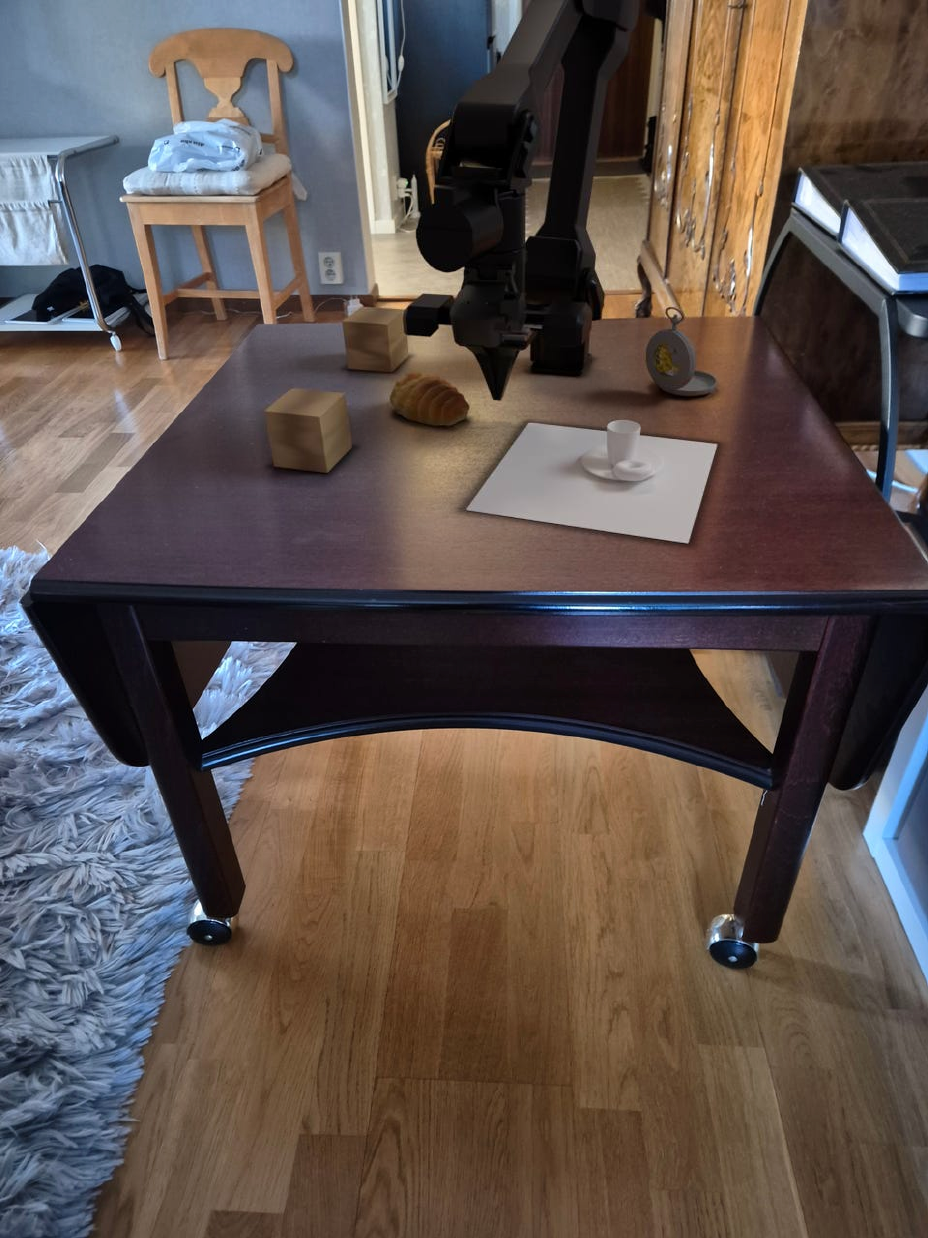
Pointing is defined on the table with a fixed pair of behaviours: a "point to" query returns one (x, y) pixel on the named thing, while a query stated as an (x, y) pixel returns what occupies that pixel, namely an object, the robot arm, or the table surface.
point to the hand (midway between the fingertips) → (498, 399)
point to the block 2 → (375, 339)
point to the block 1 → (308, 429)
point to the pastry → (428, 400)
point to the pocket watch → (676, 362)
